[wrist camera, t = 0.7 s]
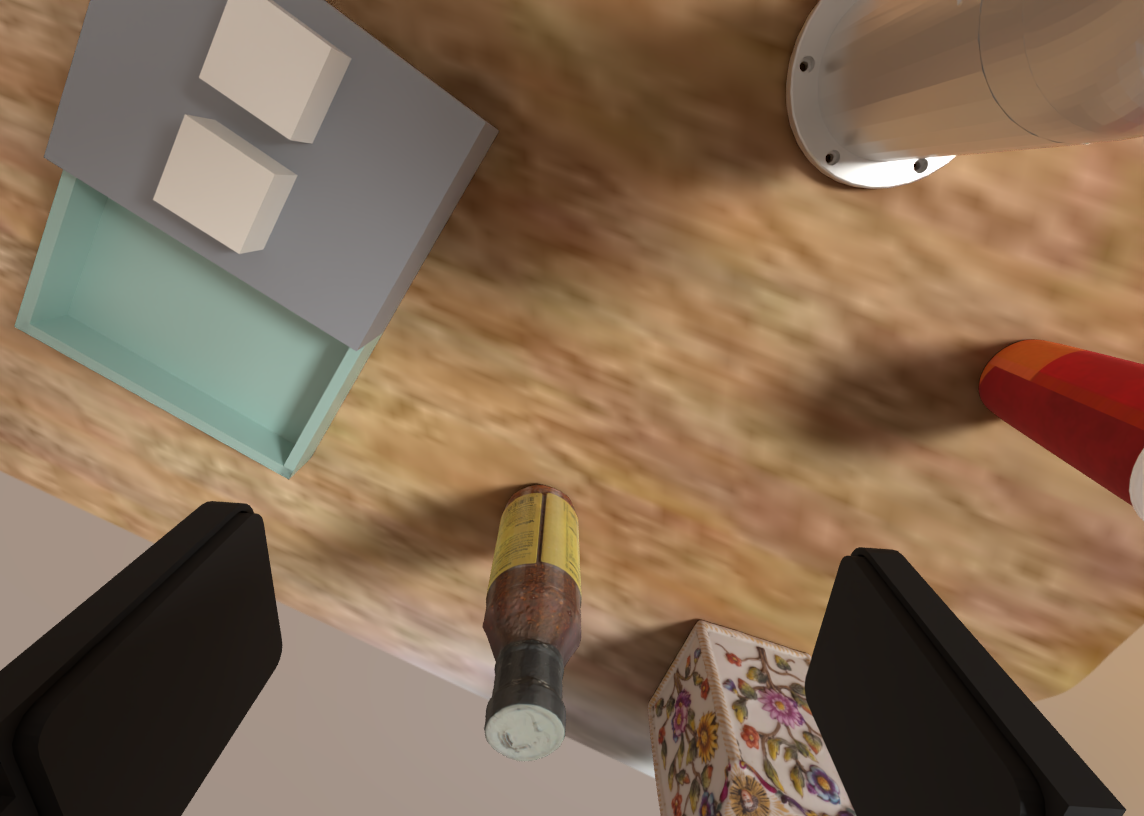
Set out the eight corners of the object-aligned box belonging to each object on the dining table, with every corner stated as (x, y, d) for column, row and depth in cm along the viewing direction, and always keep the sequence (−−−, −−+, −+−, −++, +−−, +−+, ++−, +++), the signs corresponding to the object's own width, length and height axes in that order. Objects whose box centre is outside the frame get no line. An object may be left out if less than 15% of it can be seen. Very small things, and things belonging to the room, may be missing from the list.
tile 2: (215, 119, 31) (185, 114, 28) (297, 175, 32) (274, 174, 29) (183, 198, 32) (153, 199, 30) (263, 249, 33) (239, 254, 31)
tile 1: (264, -6, 29) (236, -23, 26) (351, 58, 29) (331, 47, 27) (228, 85, 30) (198, 77, 28) (312, 143, 31) (290, 140, 29)
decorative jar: (643, 703, 53) (669, 939, 36) (695, 614, 49) (751, 834, 32) (754, 736, 54) (829, 979, 38) (814, 652, 50) (928, 883, 34)
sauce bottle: (498, 538, 47) (441, 768, 28) (509, 474, 44) (454, 678, 26) (575, 551, 47) (568, 787, 28) (589, 487, 45) (591, 700, 26)
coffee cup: (1027, 446, 42) (1244, 572, 28) (938, 405, 41) (1118, 515, 27) (1108, 349, 39) (1395, 437, 25) (1014, 302, 38) (1259, 367, 24)
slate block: (199, -94, 31) (132, -143, 27) (499, 130, 35) (485, 121, 30) (113, 161, 36) (43, 157, 32) (382, 332, 40) (356, 351, 36)
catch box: (113, 161, 36) (66, 158, 33) (382, 332, 40) (365, 345, 37) (60, 315, 40) (14, 326, 37) (310, 458, 44) (288, 479, 41)
